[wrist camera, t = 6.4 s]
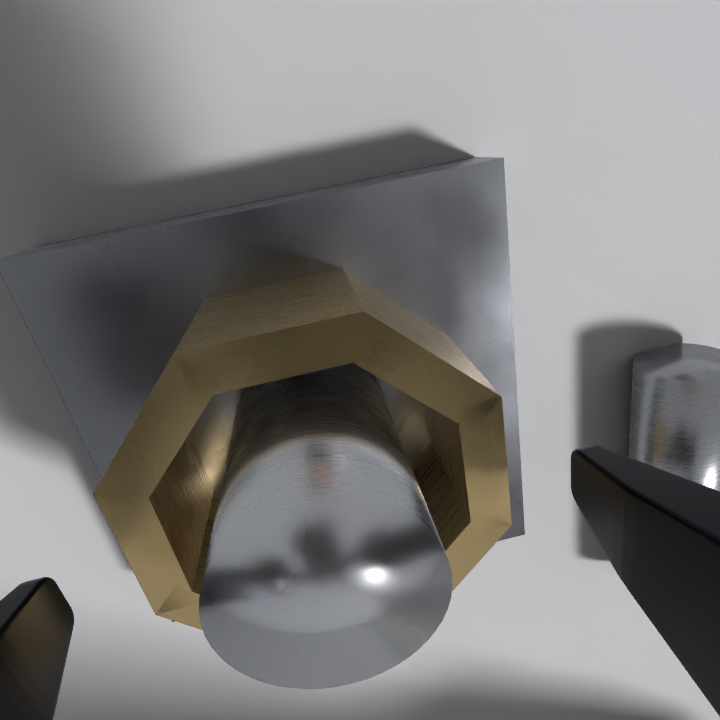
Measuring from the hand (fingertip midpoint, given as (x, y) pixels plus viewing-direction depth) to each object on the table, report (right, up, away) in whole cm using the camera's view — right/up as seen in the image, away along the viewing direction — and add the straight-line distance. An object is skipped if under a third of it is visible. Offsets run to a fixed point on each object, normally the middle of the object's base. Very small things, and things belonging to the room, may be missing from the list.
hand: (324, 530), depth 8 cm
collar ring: (-1, +1, +3) cm, 4 cm away
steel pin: (+9, -1, +5) cm, 11 cm away
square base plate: (-1, +2, +5) cm, 5 cm away
